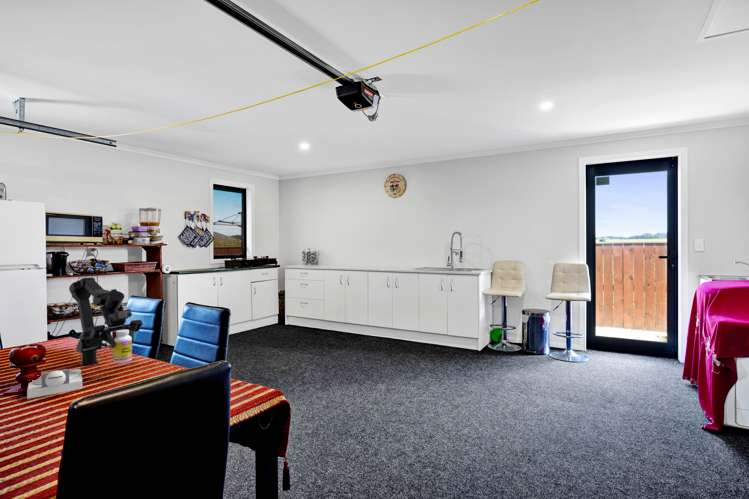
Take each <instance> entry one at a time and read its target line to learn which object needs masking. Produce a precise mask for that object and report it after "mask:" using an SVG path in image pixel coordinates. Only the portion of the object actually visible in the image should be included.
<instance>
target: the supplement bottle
mask: <svg viewBox="0 0 749 499" xmlns="http://www.w3.org/2000/svg"><path fill="white" fill-rule="evenodd" d="M128 334H129V330H118V331H115V335H116V336H115V337H114V338H113V340H114V342H115V344H116V346H115V347H113V346H112V347H113V348H112V352H113V354H112V355H113V356H112V357H113V358H112V360H113V362H114V363H116V364H122V363H127V362H130V361H132V359H133V345H132V338H131V336H129V335H128Z"/></svg>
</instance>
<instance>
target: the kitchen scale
mask: <svg viewBox="0 0 749 499" xmlns="http://www.w3.org/2000/svg"><path fill="white" fill-rule="evenodd" d="M40 375H41V376H40V377H39V378H38V379H36V380H32V382H30V383H29V382H28V385H27V386H28V387H27V390H26V394H27V395H26V396H27V397H26V398H27V400H28V399H33V398H35V399H36V398H39V397H44V396H51V395H55V394H61V393H66V392H72V391H78V390H81V389H83V376H82V371H81V368H76V369H70V368H64V369H59V370H52V371H47V372H46V371H45V372H41V374H40Z"/></svg>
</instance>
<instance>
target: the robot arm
mask: <svg viewBox="0 0 749 499" xmlns="http://www.w3.org/2000/svg"><path fill="white" fill-rule="evenodd" d="M68 287H69V288H68V290H69V293H70V294H71V297H72V299H74V300H75V301H76V303H77V308H78V314H79V318H80V324H81V325H80V326H81V333H80V336H79V341H78V342H77V344H76V352H77V353H80V354H81V362H80V366H81V367H84V366H91V365H99V360H98V351H99V350H102V348H103V341H104V342H105V343H107V344H108V345H110V346H111V347H115V346H116V344H115V342H114V340H113V339H114V338H113V336H112V332H113V333H116V331H118V330H129V334H128V335H129V336H131V338H132V344H134V342H135V333H137V332H139V331H140V330H141V328H142V326H143V324H144V322H143V321H142V319H134V320H130V322H129V323H128V324H126V323H127V319H129V318H131V317H132V316H133V314H132V313H133V312H132V310H131V309H129V308H127V309H125V310H120V311H118V309H120V307H121V305H122V303H123V302H124V299H125V293H122V292H121V291H118V290H117V289H115V288H113V289H110V290H109V289H108V290H107V289H104V288H103V287H102V286H101V285H100V284H99V283H98V282H97V281H96V279H95V278H94V277H83V278H81V279H79V280H77V281H73V282H72V283H71V284H70V285H69V286H68ZM91 296H92V302H93V304H94V305H95V307H101V308H100V312H99V314H100V316H101V315H102V317H103V320H104V324H100V325H95V323H94V322H95V321H94V318H93V313H92V312H93V310H92V306H91V302H90V298H91Z"/></svg>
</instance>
